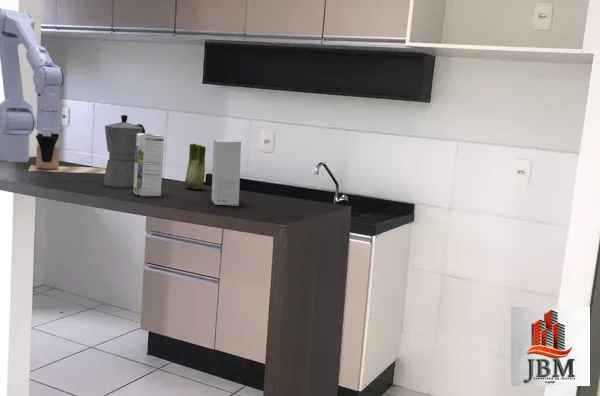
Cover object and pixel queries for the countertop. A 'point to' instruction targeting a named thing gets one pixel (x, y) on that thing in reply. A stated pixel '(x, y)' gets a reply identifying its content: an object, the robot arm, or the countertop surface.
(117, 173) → the coffeepot
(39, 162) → the salmon orange cube
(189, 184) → the fennel bulb
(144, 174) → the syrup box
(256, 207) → the countertop surface
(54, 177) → the countertop surface
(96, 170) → the maple board
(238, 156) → the skincare box
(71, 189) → the countertop surface
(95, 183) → the countertop surface
